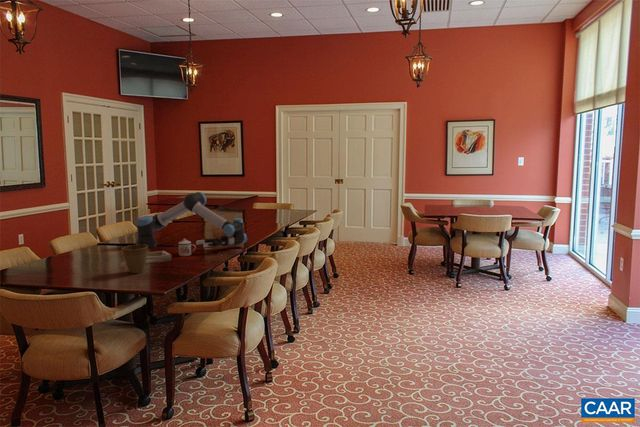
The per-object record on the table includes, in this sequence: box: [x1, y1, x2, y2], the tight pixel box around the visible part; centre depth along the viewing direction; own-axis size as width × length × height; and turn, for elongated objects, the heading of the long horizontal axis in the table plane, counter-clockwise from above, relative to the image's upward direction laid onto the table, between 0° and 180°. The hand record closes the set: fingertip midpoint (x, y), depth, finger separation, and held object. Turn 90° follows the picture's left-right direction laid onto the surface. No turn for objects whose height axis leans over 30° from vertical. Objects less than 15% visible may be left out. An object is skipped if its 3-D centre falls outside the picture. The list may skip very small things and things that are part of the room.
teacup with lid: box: [177, 238, 197, 257], centre depth 352 cm, size 12×9×12 cm
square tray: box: [145, 250, 173, 265], centre depth 337 cm, size 17×20×4 cm
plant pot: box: [121, 244, 149, 274], centre depth 305 cm, size 15×15×16 cm
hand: (199, 244), depth 358 cm, fingers open, 13 cm apart
